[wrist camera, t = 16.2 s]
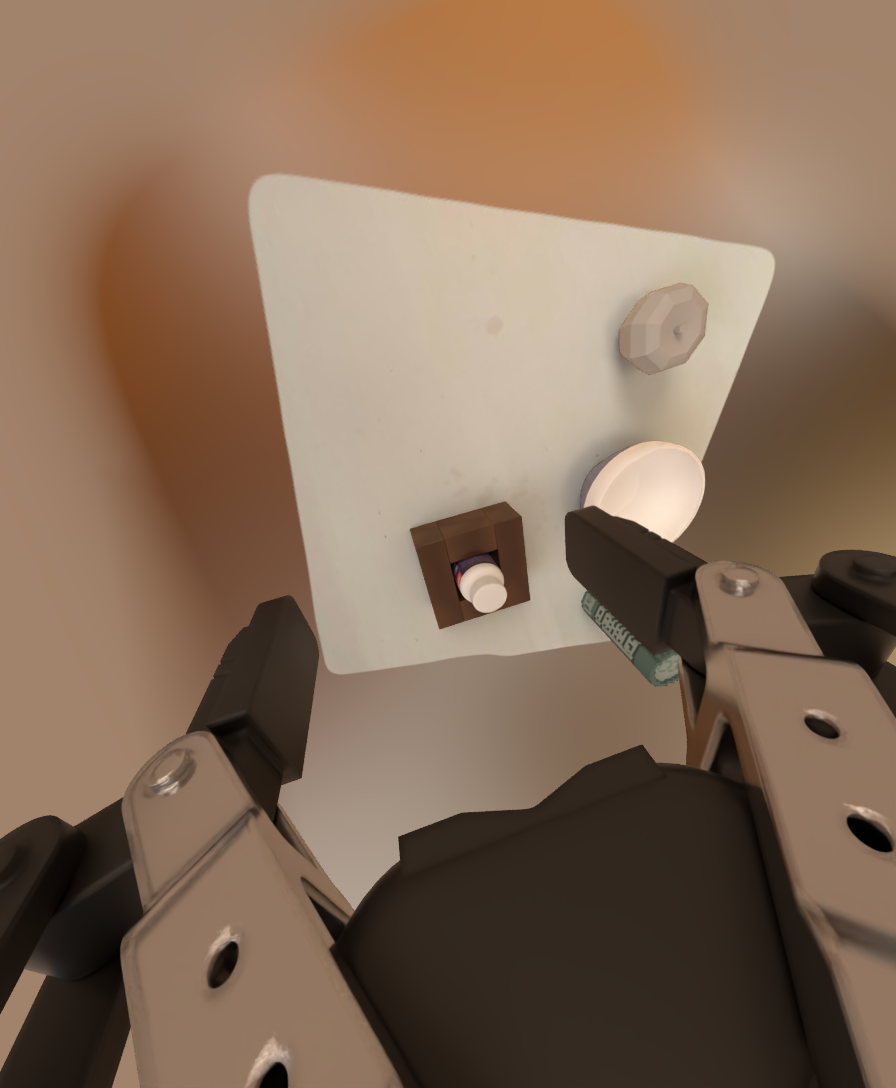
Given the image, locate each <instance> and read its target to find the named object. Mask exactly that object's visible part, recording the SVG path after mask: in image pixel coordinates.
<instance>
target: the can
mask: <svg viewBox="0 0 896 1088" xmlns="http://www.w3.org/2000/svg"><path fill="white" fill-rule="evenodd" d="M582 603H583V604H582V607H583V609H584V611H585V612H586V613H587V614H588V615H589V616H590V617H591V619H592V620H593V621H594V622H595V623H596V624H597V625H598V626H599V627H600V628H601V630H602V631H603V632H604V633H605V634H606V635H607V636H608V637H609V638H610V639H611V641H612V642H613V643H614V644H615V645H616V646H617V647H618V648H619V649H620V650H621V651H622V653H623V654H624V655H625V656H626V657H627V658H628V659H629V660H630V661H631V662H632V664H633V665H634V666H635V667H636V668H637V669H638V670H639V671H640V672H641V673H642V675H644V677H645V678H646V679H647V680H648V681H649V682H650V683H651V684H653V685H654V686H667V685H668V684H669V683H674V682H675V681H678V679H679V673H678V658H679V655H678V654H677V653H676V652H675V651H674V650H673V649H672V650H669V651H666V652H663V653H661V654H658V655H655V656H653V655H652V654H651V653H650V652H649V651H648V650H647V649H646V648H645V647H644V646H643V645H642V644H641V643H640V642H639V641H638V640H637V639H636V638H635V637H634V636H633V635H632V634H631V633H630V632H629V631H628V630H627V629H626V628H625V627H624V626H623V625H622V624H621V623H620V622H619V621H618V620H617V619H616V618H615V617H614V616H613V615H612V614H611V613H610V612H609V611H608V610H607V609H606V608H605V607H604V606H603V605H602V604H601V603H600V602H599V601H598V600H597V599H596V598H595V597H594V596H593V595H592V594H591V593H590V592H589V591H588V592H586V593H585V595H584V597H583V600H582Z"/></svg>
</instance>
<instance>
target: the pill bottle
mask: <svg viewBox="0 0 896 1088" xmlns="http://www.w3.org/2000/svg"><path fill="white" fill-rule="evenodd" d="M450 565H451V569H452V573H453V576H454V578H455V580H456V582H457V585H458V587H459V589H460V592H461V593H462V595H463V596H464V598H465V599H466V600H468V601H470V602H472V603H473V605H474V607H475V608H476V609H477V610H478V611H480V612H483V613H489V612H493V611H496V610H497V609H499V608H500V607H501V606H502V605H503V604H504V603H505V601H506V598H507V592H506V589H505V587H504V577H503V574H502V572H501V570H500V569H499V567H498V566H497V564H496V563H495V561H494V560H493V559H492V557H491V556H490V554H489V553H488V552H487V553H483V554H480V555H477V556H473V557H470V558H467V559H464V560H460V561H457V562H454V563H450Z"/></svg>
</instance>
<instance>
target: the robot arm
mask: <svg viewBox="0 0 896 1088" xmlns="http://www.w3.org/2000/svg"><path fill="white" fill-rule="evenodd" d="M565 544H566V561H567V565H568V568H569V570H570V572H571V573H572V575H573V576H574V577H575V578H576V579H577V580H578V581H579V582H580V583H581V584H582V585H583V586H584V587H585V588H586V589H587V590H588V591H589V592H590V593H591V594H592V595H593V596H594V597H595V598H596V599H597V600H598V601H599V602H600V603H601V604H602V605H603V606H604V607H605V608H606V609H607V610H608V611H609V612H610V613H611V614H612V615H613V616H614V617H615V618H616V619H617V620H618V621H619V622H620V623H621V624H622V625H623V626H624V627H625V628H626V629H627V630H628V631H629V632H630V633H631V634H632V635H633V636H634V637H635V638H636V639H637V640H638V641H639V642H640V643H641V644H642V645H643V646H644V647H645V648H646V649H647V650H648V651H649V652H650V653H651V654H652V655H653V656H655V655H658V654H661V653H663V652H666V651H669V650H672V649H673V650H674V651H675V652H676V653H677V654H678V655H679V658H678V673H679V681H680V688H681V696H682V703H683V711H684V718H685V726H686V733H687V754H686V765H680V764H671V763H655V761H654V760H653V758H652V757H651V756H650V755H649V753H648V752H647V750H646V749H645V748H644V746H643V745H639V746H637V747H634V748H631V749H628V750H626V751H623V752H621V753H618V754H615V755H613V756H610V757H608V758H605V759H602V760H600V761H597V762H594V763H592V764H589V765H587V766H585V767H583V768H582V769H581V770H580V771H579V772H577V773H576V774H575V775H574V776H572V777H571V778H570V779H569V780H567V781H566V782H565V783H564V784H563V785H561V786H560V787H559V788H558V789H557V790H555V791H554V792H553V793H552V794H550V795H549V796H548V797H547V798H545V799H544V800H543V801H542V802H540V803H539V804H538V805H536V806H535V807H533V808H530V809H522V810H503V811H485V812H467V813H460V814H457V815H454V816H452V817H449V818H447V819H444V820H441V821H439V822H436V823H433V824H431V825H428V826H425V827H423V828H420V829H418V830H415V831H412V832H410V833H407V834H405V835H402V836H399V837H398V839H399V851H400V861H399V862H398V863H396V864H395V865H394V866H392V867H391V868H390V869H389V870H388V871H387V872H386V873H385V874H384V875H383V876H382V877H381V878H380V879H379V880H378V881H377V882H376V883H375V885H374V886H373V887H372V888H371V890H370V891H369V892H368V893H367V894H366V896H365V897H364V898H363V900H362V901H361V902H360V904H359V905H358V907H357V909H356V910H355V911H354V909H353V908H352V907H351V905H350V904H349V902H348V901H347V900H346V898H345V897H344V896H343V895H342V893H341V892H340V891H339V890H338V889H337V887H336V886H335V885H334V884H333V882H332V881H331V880H330V879H329V877H328V876H327V874H326V873H325V872H324V870H323V868H322V867H321V866H320V864H319V862H318V861H317V859H316V858H315V856H314V855H313V853H312V852H311V850H310V849H309V847H308V846H307V844H306V843H305V841H304V840H303V838H302V837H301V835H300V834H299V832H298V831H297V829H296V827H295V826H294V824H293V823H292V821H291V820H290V818H289V817H288V815H287V814H286V812H285V811H284V809H283V808H282V807H281V806H280V804H279V803H278V798H279V793H280V788H281V785H283V784H286V783H289V782H292V781H295V780H298V779H300V778H302V771H303V764H304V757H305V750H306V743H307V736H308V729H309V722H310V715H311V708H312V702H313V694H314V688H315V680H316V674H317V667H318V660H319V650H318V644H317V641H316V638H315V636H314V634H313V632H312V630H311V628H310V626H309V625H308V623H307V621H306V619H305V618H304V616H303V614H302V612H301V610H300V608H299V607H298V605H297V603H296V601H295V600H294V599H293V597H292V596H289V595H287V596H284V597H280V598H277V599H274V600H270V601H267V602H263V603H260V604H259V605H258V606H257V608H256V610H255V613H254V615H253V617H252V620H251V622H250V624H249V626H248V627H244V628H243V629H242V630H241V631H240V632H239V633H238V634H237V635H236V637H235V638H234V639H233V640H232V641H231V642H230V643H229V644H228V646H227V649H226V650H225V653H224V655H223V657H222V659H221V664H220V665H218V667H217V669H216V671H215V674H214V679H213V680H211V682H210V684H209V686H208V688H207V691H206V692H205V695H204V697H203V699H202V701H201V703H200V705H199V707H198V710H197V712H196V714H195V716H194V718H193V720H192V722H191V724H190V726H189V728H188V730H187V732H186V735H183V736H181V737H179V738H177V739H176V740H174V741H172V742H170V743H169V744H167V745H166V746H165V747H163V748H162V749H161V750H159V751H158V752H157V753H156V754H155V755H154V756H152V757H151V758H150V760H148V761H147V762H146V764H144V766H143V767H142V768H141V769H140V770H139V771H138V773H137V774H136V775H135V777H134V778H133V780H132V781H131V783H130V784H129V786H128V788H127V790H126V792H125V795H124V797H123V798H121V799H120V800H118V801H116V802H114V803H113V804H111V805H109V806H108V807H106V808H104V809H103V810H101V811H99V812H98V813H96V814H94V815H93V816H91V817H89V818H88V819H86V820H84V821H83V822H81V823H80V824H78V825H76V826H74V827H73V826H72V825H70V824H68V823H66V822H65V821H63V820H61V819H59V818H58V817H56V816H51V815H49V816H43V817H39V818H36V819H34V820H31V821H29V822H27V823H25V824H23V825H21V826H20V827H18V828H16V829H15V830H13V831H11V832H10V833H8V834H7V835H5V836H4V837H3V838H1V839H0V1014H1V1012H2V1010H3V1008H4V1006H5V1004H6V1002H7V1000H8V999H9V997H10V995H11V993H12V991H13V989H14V987H15V985H16V983H17V981H18V979H19V977H20V976H21V974H22V972H23V970H24V969H27V970H30V971H34V972H37V973H41V974H45V975H47V976H46V978H45V980H44V982H43V984H42V986H41V988H40V990H39V992H38V995H37V997H36V999H35V1001H34V1003H33V1005H32V1007H31V1009H30V1011H29V1013H28V1015H27V1018H26V1019H25V1022H24V1024H23V1026H22V1028H21V1030H20V1032H19V1034H18V1036H17V1038H16V1040H15V1042H14V1045H13V1046H12V1049H11V1051H10V1053H9V1055H8V1057H7V1059H6V1061H5V1063H4V1065H3V1067H2V1070H1V1071H0V1088H112V1085H113V1082H114V1078H115V1075H116V1072H117V1069H118V1066H119V1063H120V1060H121V1056H122V1053H123V1050H124V1047H125V1044H126V1041H127V1037H128V1034H129V1031H130V1028H131V1031H132V1038H133V1044H134V1051H135V1057H136V1063H137V1070H138V1077H139V1083H140V1088H896V666H894V665H892V664H890V663H889V662H887V659H888V658H889V656H890V655H891V653H892V652H893V650H894V649H895V647H896V557H895V556H891V555H887V554H883V553H877V552H871V551H863V550H840V551H834V552H830V553H827V554H825V555H824V556H822V558H821V559H820V561H819V564H818V566H817V569H816V571H815V573H814V574H813V575H799V576H786V577H777V576H776V575H775V574H773V573H771V572H770V571H768V570H766V569H763V568H761V567H758V566H755V565H752V564H747V563H742V562H736V561H715V562H710V563H707V562H705V561H704V560H702V559H700V558H698V557H696V556H695V555H693V554H691V553H689V552H688V551H686V550H684V549H682V548H681V547H679V546H677V545H675V544H673V543H672V542H670V541H668V540H667V539H665V538H663V539H662V538H661V536H659V535H658V534H656V533H654V532H652V531H650V532H649V529H647V528H645V527H644V526H642V525H640V524H638V523H637V522H635V521H632V520H628V519H624V518H621V517H617V516H612V515H610V514H608V513H607V512H605V511H603V510H602V509H600V508H598V507H596V506H593V505H592V506H588V507H585V508H582V509H578V510H575V511H571V512H568V513H567V514H566V516H565Z"/></svg>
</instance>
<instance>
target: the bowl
mask: <svg viewBox="0 0 896 1088" xmlns="http://www.w3.org/2000/svg"><path fill="white" fill-rule="evenodd" d="M704 475H705V474H704V469H703V466H702V463H701V461H700V460H699V458H698V457H697V455H696V454H694V453H693V452H692V451H691V450H689V449H687V448H685V447H683V446H680V445H677V444H674V443H670V442H662V441H649V442H643V443H640V444H637V445H633V446H630V447H628V448H625V449H623V450H621V451H618V452H616V453H614V454H612V455H611V456H609V457H607V458H606V459H605V460H604V461H602V462H600V463H599V464H598V465H596V466H595V467H594V468H593V469H592V471H591V472H590V473H589V474H588V476H587V477H586V479H585V481H584V484H583V487H582V490H581V502H580V509H582V508H585V507H588V506H592V505H593V506H596V507H598V508H600V509H602V510H603V511H605V512H607V513H608V514H610V515H612V516H617V517H621V518H624V519H628V520H632V521H635V522H637V523H638V524H640V525H642V526H644V527H645V528H647V529H649V532H650V531H652V532H654V533H656V534H658V535H659V536H661V538H662V539H663V538H665V539H667V540H668V541H670V542H672V543H673V542H674V541H675V540H676V539H677V538H678V537H679V536H680V535H681V534H682V533H683V532H684V530H685V529H686V528H687V527H688V526H689V524H690V523H691V521H692V520H693V518H694V516H695V515H696V513H697V510H698V508H699V506H700V504H701V501H702V497H703V494H704V487H705V476H704Z"/></svg>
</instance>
